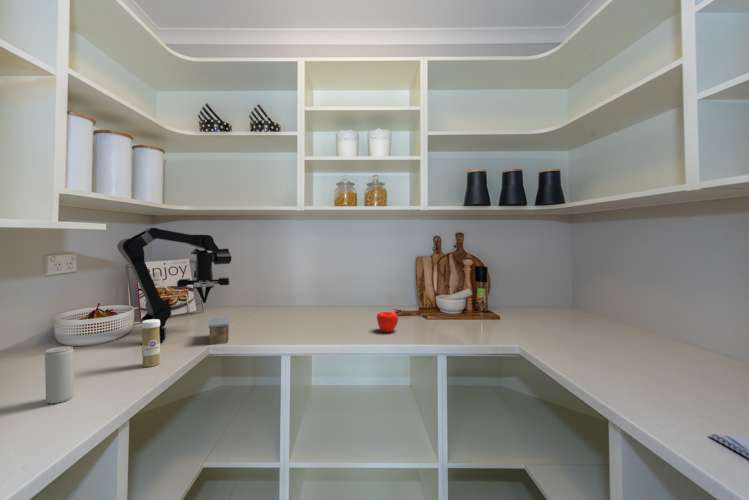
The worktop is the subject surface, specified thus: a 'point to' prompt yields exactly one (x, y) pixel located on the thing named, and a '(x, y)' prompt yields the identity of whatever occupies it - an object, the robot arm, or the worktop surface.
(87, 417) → the worktop surface
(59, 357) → the beverage can
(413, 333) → the worktop surface
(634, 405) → the worktop surface
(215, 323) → the box lid
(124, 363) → the worktop surface
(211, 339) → the walnut box
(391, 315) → the apple
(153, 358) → the sprinkles bottle
